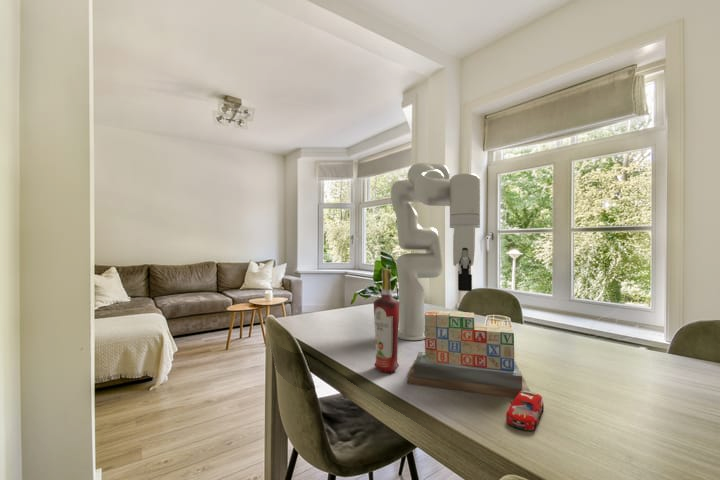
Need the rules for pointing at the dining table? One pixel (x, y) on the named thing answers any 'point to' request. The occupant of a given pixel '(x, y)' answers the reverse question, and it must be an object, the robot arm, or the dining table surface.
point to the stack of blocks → (467, 341)
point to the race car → (525, 410)
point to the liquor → (386, 327)
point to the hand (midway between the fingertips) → (464, 288)
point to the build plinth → (465, 385)
